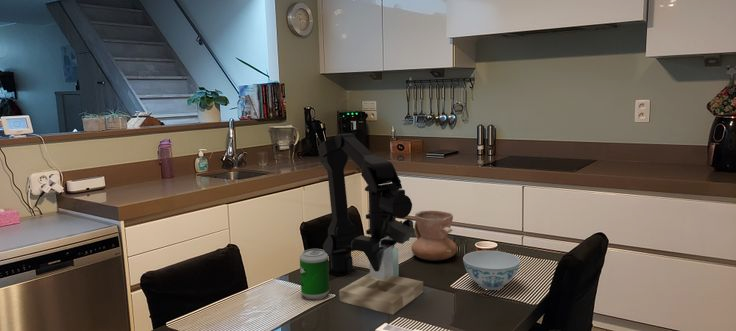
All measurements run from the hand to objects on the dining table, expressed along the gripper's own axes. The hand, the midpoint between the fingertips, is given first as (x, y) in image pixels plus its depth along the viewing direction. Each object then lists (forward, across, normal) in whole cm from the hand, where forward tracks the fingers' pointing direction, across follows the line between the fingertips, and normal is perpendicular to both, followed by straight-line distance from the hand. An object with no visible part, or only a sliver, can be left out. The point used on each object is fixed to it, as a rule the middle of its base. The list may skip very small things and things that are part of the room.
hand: (381, 268), depth 136 cm
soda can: (+8, -8, +16) cm, 20 cm away
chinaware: (+8, +21, -22) cm, 31 cm away
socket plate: (+8, 0, 0) cm, 8 cm away
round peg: (+8, +14, +7) cm, 17 cm away
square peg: (+2, 0, 0) cm, 2 cm away
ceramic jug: (+8, +36, +3) cm, 37 cm away
